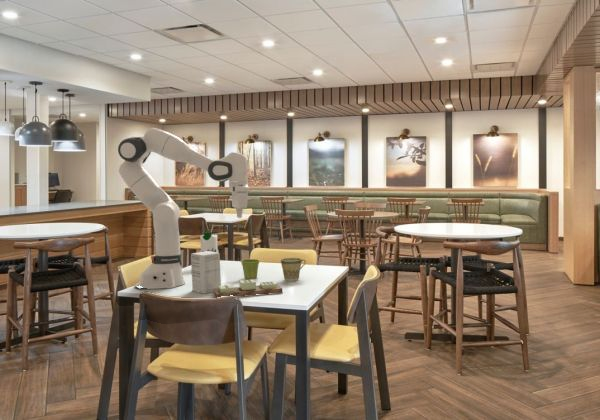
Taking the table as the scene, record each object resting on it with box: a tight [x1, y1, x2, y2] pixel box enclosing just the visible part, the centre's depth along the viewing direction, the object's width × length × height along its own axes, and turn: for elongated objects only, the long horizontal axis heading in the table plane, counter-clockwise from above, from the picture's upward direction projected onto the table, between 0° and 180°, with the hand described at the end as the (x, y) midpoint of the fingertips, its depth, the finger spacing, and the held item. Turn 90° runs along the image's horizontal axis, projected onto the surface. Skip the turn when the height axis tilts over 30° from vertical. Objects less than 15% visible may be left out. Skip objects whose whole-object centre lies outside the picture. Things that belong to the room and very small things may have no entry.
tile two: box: [238, 278, 257, 290], centre depth 214 cm, size 6×6×3 cm
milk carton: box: [199, 231, 219, 253], centre depth 281 cm, size 9×9×20 cm
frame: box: [212, 284, 283, 298], centre depth 214 cm, size 28×10×2 cm, turn 107°
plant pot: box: [240, 258, 261, 280], centre depth 247 cm, size 9×9×9 cm
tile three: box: [259, 280, 278, 289], centre depth 217 cm, size 6×6×3 cm
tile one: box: [219, 284, 236, 293], centre depth 211 cm, size 6×6×3 cm
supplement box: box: [190, 251, 222, 294], centre depth 221 cm, size 10×9×17 cm
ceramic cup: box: [280, 257, 306, 282], centre depth 241 cm, size 13×10×10 cm
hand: (239, 217), depth 232 cm, fingers closed
